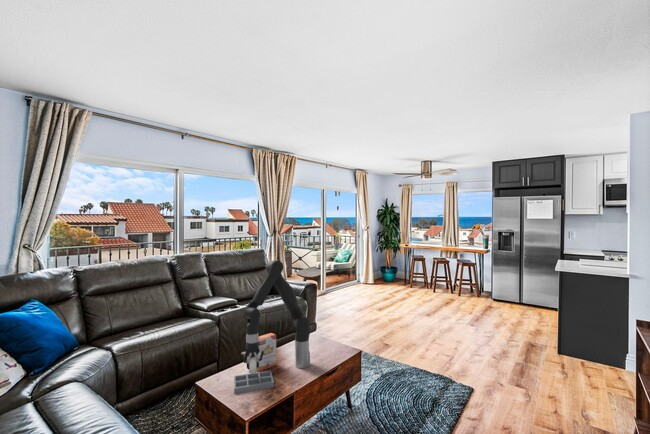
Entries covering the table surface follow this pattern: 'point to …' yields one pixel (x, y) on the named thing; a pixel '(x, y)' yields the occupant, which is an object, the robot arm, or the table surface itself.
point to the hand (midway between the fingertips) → (252, 368)
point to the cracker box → (267, 351)
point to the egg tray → (253, 381)
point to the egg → (252, 365)
